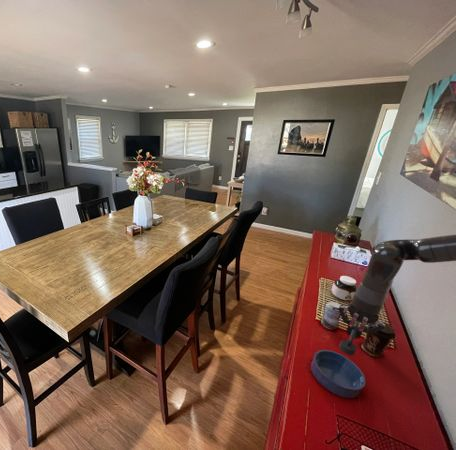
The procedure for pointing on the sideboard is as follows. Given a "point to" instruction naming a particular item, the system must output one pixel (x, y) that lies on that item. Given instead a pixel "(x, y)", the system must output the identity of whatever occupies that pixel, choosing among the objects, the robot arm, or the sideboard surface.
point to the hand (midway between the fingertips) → (352, 335)
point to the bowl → (337, 374)
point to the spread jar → (344, 288)
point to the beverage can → (331, 315)
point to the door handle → (350, 341)
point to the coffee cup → (378, 340)
